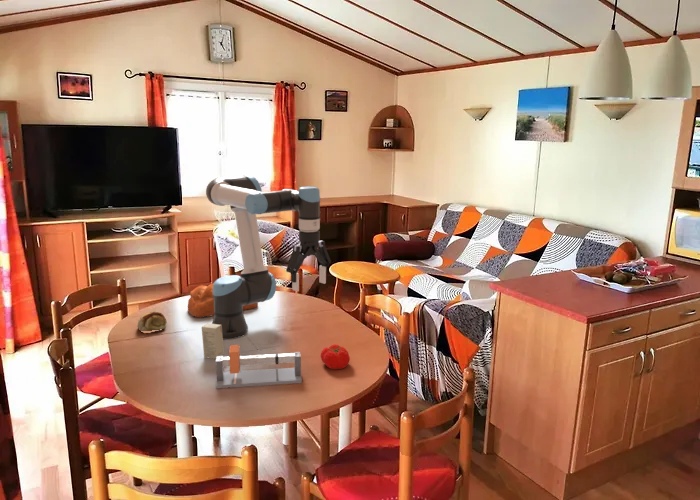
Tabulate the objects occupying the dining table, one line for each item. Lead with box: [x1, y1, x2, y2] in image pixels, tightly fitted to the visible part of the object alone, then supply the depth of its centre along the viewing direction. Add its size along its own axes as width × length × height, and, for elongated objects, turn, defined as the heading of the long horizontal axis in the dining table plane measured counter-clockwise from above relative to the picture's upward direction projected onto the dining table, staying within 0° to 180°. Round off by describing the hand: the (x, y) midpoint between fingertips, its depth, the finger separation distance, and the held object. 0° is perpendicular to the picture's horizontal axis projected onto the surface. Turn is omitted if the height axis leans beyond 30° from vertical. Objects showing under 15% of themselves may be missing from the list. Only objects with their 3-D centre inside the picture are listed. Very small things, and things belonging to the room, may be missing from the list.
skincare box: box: [201, 322, 225, 360], centre depth 201 cm, size 6×4×12 cm
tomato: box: [320, 344, 351, 370], centre depth 195 cm, size 10×11×6 cm
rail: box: [215, 351, 302, 382], centre depth 183 cm, size 28×4×7 cm, turn 99°
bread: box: [187, 282, 259, 318], centre depth 253 cm, size 16×31×13 cm, turn 121°
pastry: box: [137, 311, 167, 331], centre depth 229 cm, size 14×12×8 cm
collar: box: [228, 344, 241, 374], centre depth 181 cm, size 3×6×8 cm, turn 9°
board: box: [215, 367, 302, 389], centre depth 184 cm, size 28×10×1 cm, turn 99°
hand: (309, 286), depth 199 cm, fingers open, 13 cm apart
